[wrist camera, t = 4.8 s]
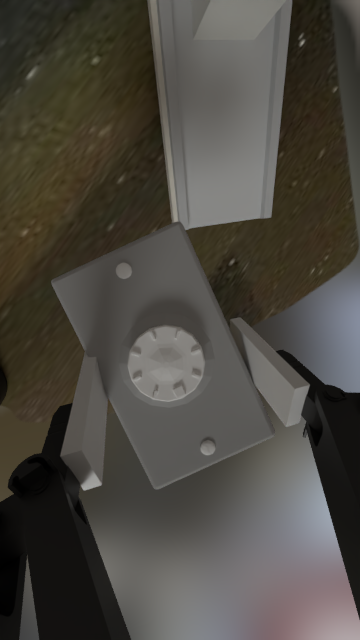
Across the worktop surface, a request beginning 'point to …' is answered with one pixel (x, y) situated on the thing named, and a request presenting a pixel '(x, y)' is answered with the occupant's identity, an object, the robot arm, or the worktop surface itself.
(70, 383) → the worktop surface
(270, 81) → the rail board
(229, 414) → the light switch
